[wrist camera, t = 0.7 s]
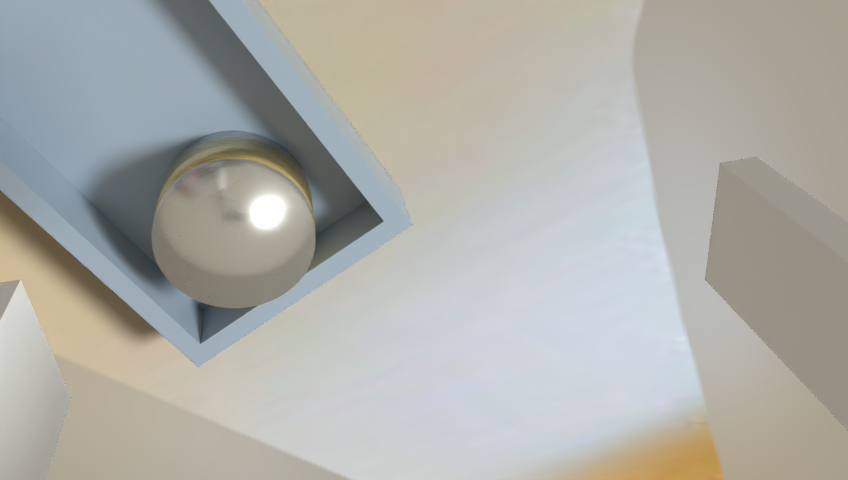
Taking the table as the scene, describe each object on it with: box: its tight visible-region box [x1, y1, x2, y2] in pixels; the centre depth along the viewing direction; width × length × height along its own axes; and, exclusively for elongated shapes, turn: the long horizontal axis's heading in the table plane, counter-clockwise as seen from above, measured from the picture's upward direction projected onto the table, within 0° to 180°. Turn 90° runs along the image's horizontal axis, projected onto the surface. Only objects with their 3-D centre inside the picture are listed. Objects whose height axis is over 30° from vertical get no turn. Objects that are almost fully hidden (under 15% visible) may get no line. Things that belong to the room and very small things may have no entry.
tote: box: [0, 0, 413, 367], centre depth 33 cm, size 22×13×4 cm, turn 32°
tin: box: [151, 130, 316, 308], centre depth 35 cm, size 7×7×4 cm
